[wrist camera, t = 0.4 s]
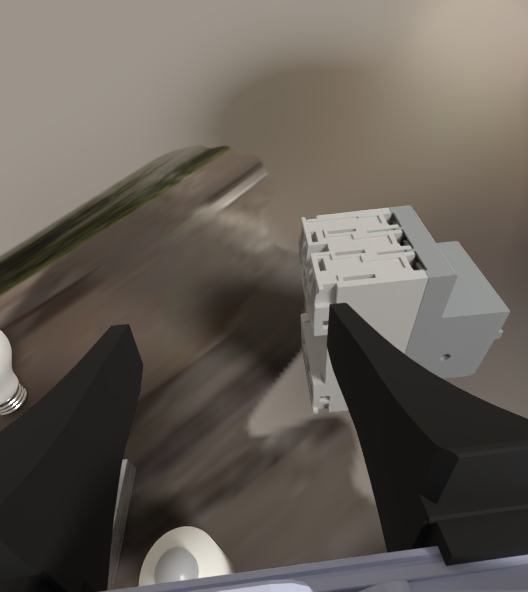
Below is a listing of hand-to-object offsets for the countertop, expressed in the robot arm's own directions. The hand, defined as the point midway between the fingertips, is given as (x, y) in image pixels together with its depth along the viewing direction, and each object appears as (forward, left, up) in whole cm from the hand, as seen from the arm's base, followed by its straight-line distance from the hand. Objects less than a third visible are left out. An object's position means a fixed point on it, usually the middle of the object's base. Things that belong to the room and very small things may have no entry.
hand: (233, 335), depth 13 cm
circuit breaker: (+10, -11, -20) cm, 25 cm away
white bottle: (-5, +5, -19) cm, 21 cm away
